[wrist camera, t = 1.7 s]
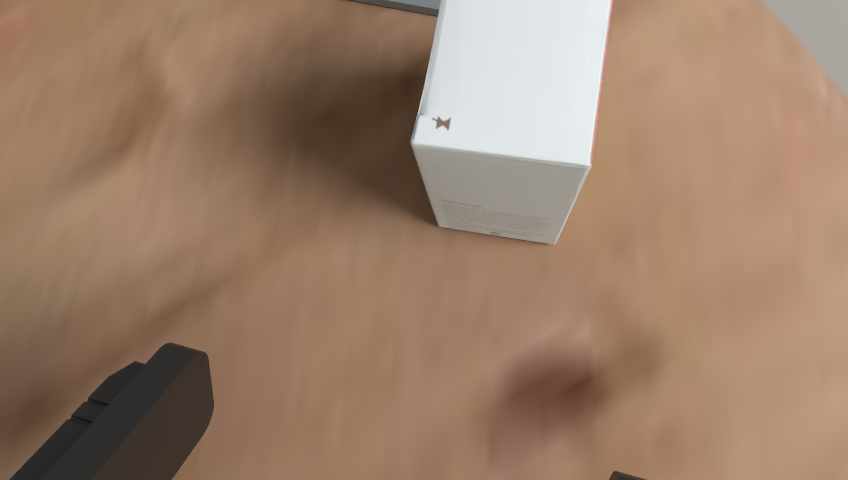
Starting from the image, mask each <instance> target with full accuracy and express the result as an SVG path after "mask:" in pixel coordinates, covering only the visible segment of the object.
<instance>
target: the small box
mask: <svg viewBox="0 0 848 480" xmlns="http://www.w3.org/2000/svg"><path fill="white" fill-rule="evenodd" d="M612 6H613V0H441V3H440V8H439V13H438V18H437V23H436V29H435V34H434V39H433V44H432V49H431V54H430V59H429V64H428V69H427V74H426V79H425V84H424V88H423V93H422V97H421V102H420V106H419V110H418V114H417V117H416V121H415V125H414V129H413V133H412V137H411V141H410V143H411V147H412V149H413V152H414V155H415V158H416V161H417V164H418V167H419V170H420V173H421V176H422V179H423V182H424V185H425V188H426V191H427V194H428V197H429V200H430V203H431V206H432V209H433V212H434V215H435V217H436V220H437V223H438V226H439V227H444V228H451V229H457V230H464V231H470V232H476V233H483V234H489V235H495V236H502V237H508V238H514V239H521V240H528V241H534V242H540V243H547V244H556V243H557V240H558V238H559V236H560V234H561V232H562V229H563V227H564V225H565V223H566V221H567V218H568V216H569V214H570V212H571V210H572V208H573V205H574V203H575V201H576V199H577V196H578V194H579V192H580V190H581V187H582V185H583V183H584V181H585V179H586V177H587V175H588V172H589V170H590V168H591V166H592V160H593V152H594V145H595V137H596V129H597V121H598V114H599V107H600V99H601V92H602V84H603V76H604V69H605V61H606V53H607V45H608V38H609V30H610V22H611V14H612Z"/></svg>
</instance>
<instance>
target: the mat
mask: <svg viewBox="0 0 848 480" xmlns="http://www.w3.org/2000/svg"><path fill="white" fill-rule="evenodd" d="M352 1H358V2H363V3H369V4H374V5H380V6H385V7H391V8H396V9H402V10H407V11H413V12H418V13H424V14H429V15H435V16H438V13H439V8H440V3H441V0H352Z"/></svg>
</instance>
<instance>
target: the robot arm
mask: <svg viewBox="0 0 848 480" xmlns="http://www.w3.org/2000/svg"><path fill="white" fill-rule="evenodd" d="M213 408H214V400H213V392H212V384H211V375H210V367H209V359H208V356H207V354H206V353H205V352H202V351H199V350H195V349H192V348H188V347H185V346H181V345H178V344H174V343H167V344H165V345H163V346H162V347H161V348H160V349H159V350H158V351H157V352H156V353H155V354H154V355H153V356H152V358H151V359H150V360H149V361H148V362H147V363H146V364H143V363H139V362H136V361H135V362H133V363H131V364H130V365H128V366H126V367H124V368H123V369H121V370H119V371H118V372H116V373H114V374H112V375H111V376H109V377H108V378H107V379H106V380H105V381H104V382H103V383H102V384H101V385H100V386H99V387H98V388H97V389H96V390H95V391H94V392H93V393H92V394H91V395H90V396H89V397H88V401H87V402H84V403H83V404H82V405H81V406H80V407H79V408H78V409H77V410H76V411H75V412H74V413H73V414H72V417H71V419H70V420H68V419H67V420H66V421H65V422H64V423H63V425H62V426H61V427H60V428H59V429H58V430H57V431H56V432H55V433H54V434H53V435H52V436H51V437H50V438H49V439H48V440H47V441H46V442H45V443H44V444H43V445H42V446H41V447H40V448H39V449H38V451H37V452H36V453H35V454H34V455H33V456H32V457H31V458H30V459H29V460H28V461H27V462H26V463H25V464H24V465H23V466H22V467H21V468H20V469H19V470H18V471H17V472H16V473H15V474H14V476H13V477H12V478H11V479H10V480H172V478H173V477H174V475H175V474H176V473H177V471H178V470H179V468H180V467H181V466H182V464H183V463H184V461H185V460H186V458H187V457H188V456H189V454H190V453H191V451H192V450H193V448H194V447H195V446H196V444H197V443H198V441H199V440H200V439H201V437H202V436H203V434H204V433H205V431H206V429H207V427H208V425H209V423H210V420H211V417H212V413H213ZM609 480H646V479H642V478H639V477H635V476H632V475H628V474H625V473H621V472H618V471H614V472H613V473H612V475H611V477H610V479H609Z"/></svg>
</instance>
